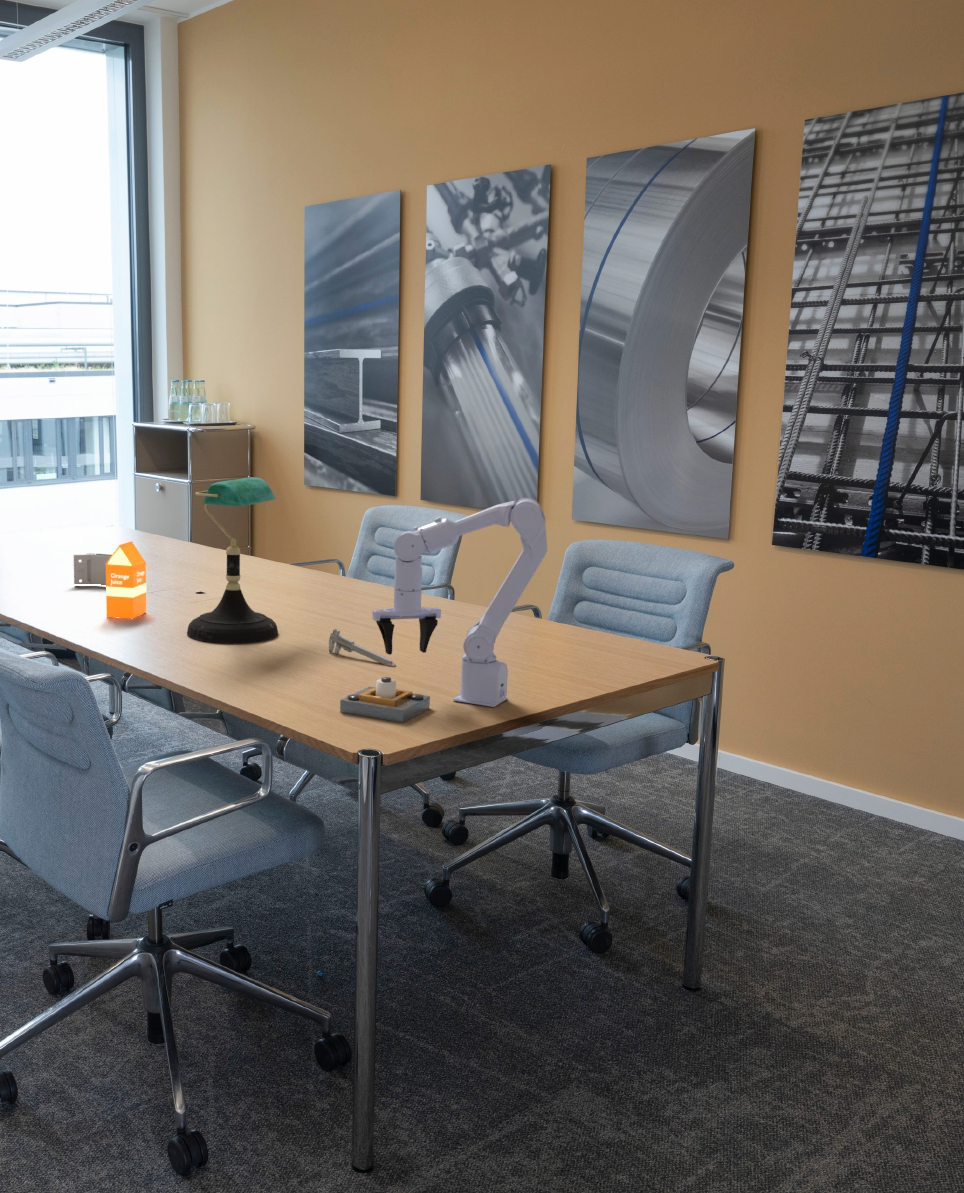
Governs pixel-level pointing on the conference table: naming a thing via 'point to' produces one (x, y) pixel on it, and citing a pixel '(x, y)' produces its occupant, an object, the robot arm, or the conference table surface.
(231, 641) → the banker's lamp
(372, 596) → the conference table surface
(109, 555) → the hinge
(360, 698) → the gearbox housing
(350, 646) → the caliper
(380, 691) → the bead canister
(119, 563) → the orange juice
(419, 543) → the robot arm
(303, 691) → the conference table surface
